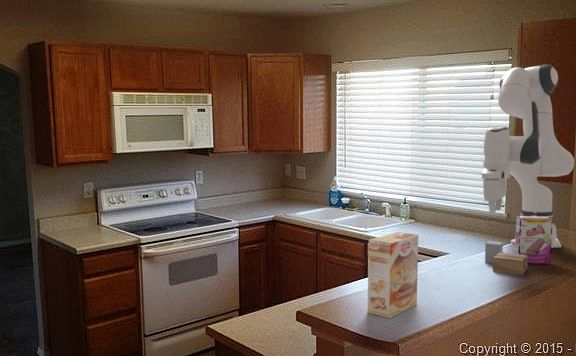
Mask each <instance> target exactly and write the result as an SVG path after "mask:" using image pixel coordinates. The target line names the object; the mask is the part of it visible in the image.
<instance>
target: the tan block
mask: <svg viewBox="0 0 576 356" xmlns="http://www.w3.org/2000/svg"><path fill="white" fill-rule="evenodd" d="M528 265H529V264H528V255H519V254H515V253H509V252H504V251H503V252H500V253H498V254H497V255H496V256H494V257H493V264H492V272H496V273H502V272H503V273H504V274H511V275H518V276H519V275H520V276H522V275H523V274H524V273H525V272H526V271H527V270H528Z"/></svg>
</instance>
